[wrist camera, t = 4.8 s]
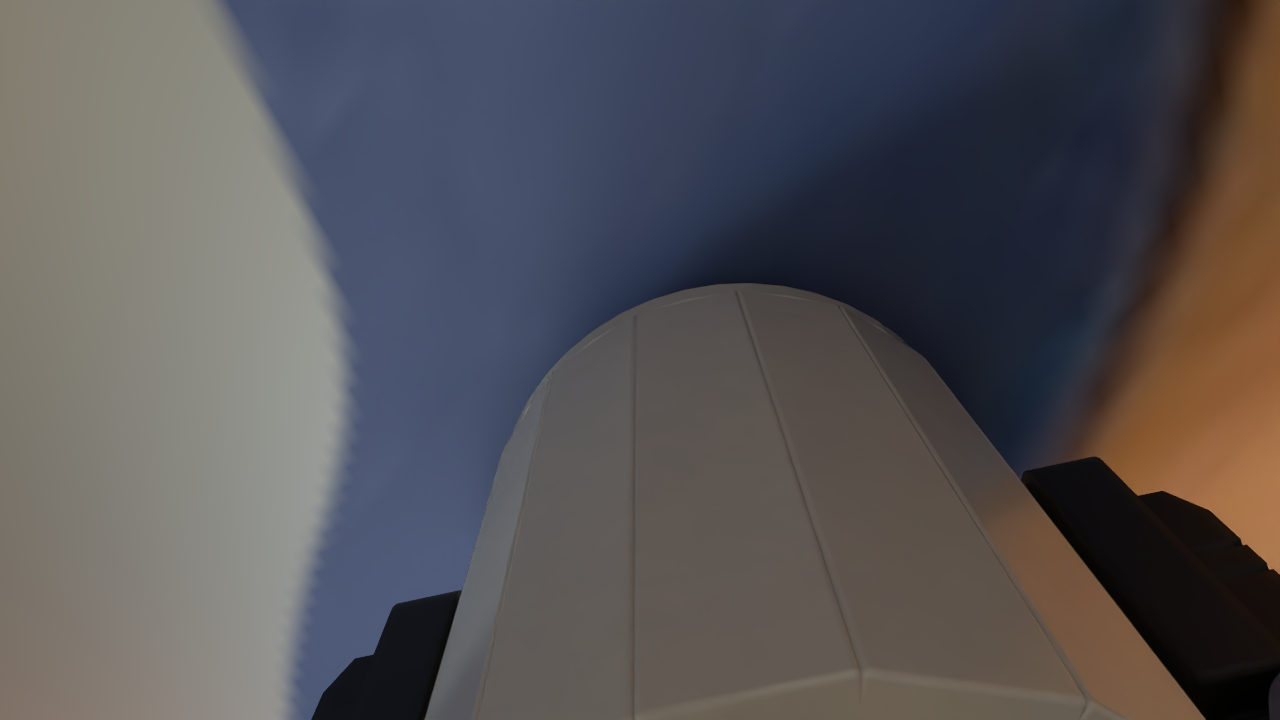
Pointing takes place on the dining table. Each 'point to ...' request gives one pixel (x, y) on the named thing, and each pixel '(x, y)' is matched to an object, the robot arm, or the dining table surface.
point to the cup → (774, 540)
